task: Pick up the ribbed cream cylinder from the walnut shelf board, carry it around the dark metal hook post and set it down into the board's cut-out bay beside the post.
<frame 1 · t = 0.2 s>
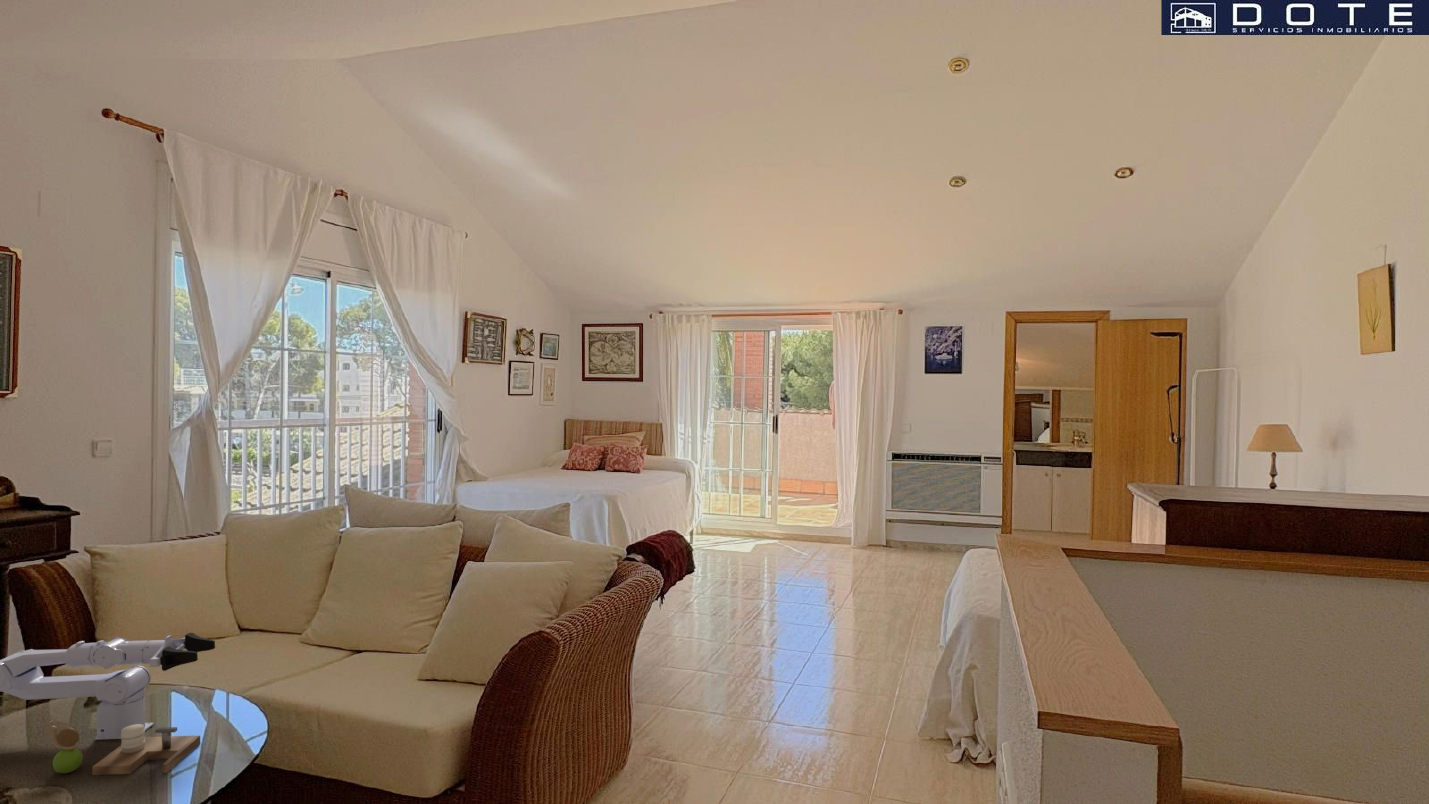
hand: (205, 650, 201), 21 cm above the table, tool horizontal, fingers open, 7 cm apart
ribbed cream cylinder: (133, 748, 189), point 2 cm above the table, touching shelf board
shelf board: (148, 758, 189), on the table
hook post: (166, 756, 190), resting on shelf board
snail figurine: (65, 772, 182), on the table
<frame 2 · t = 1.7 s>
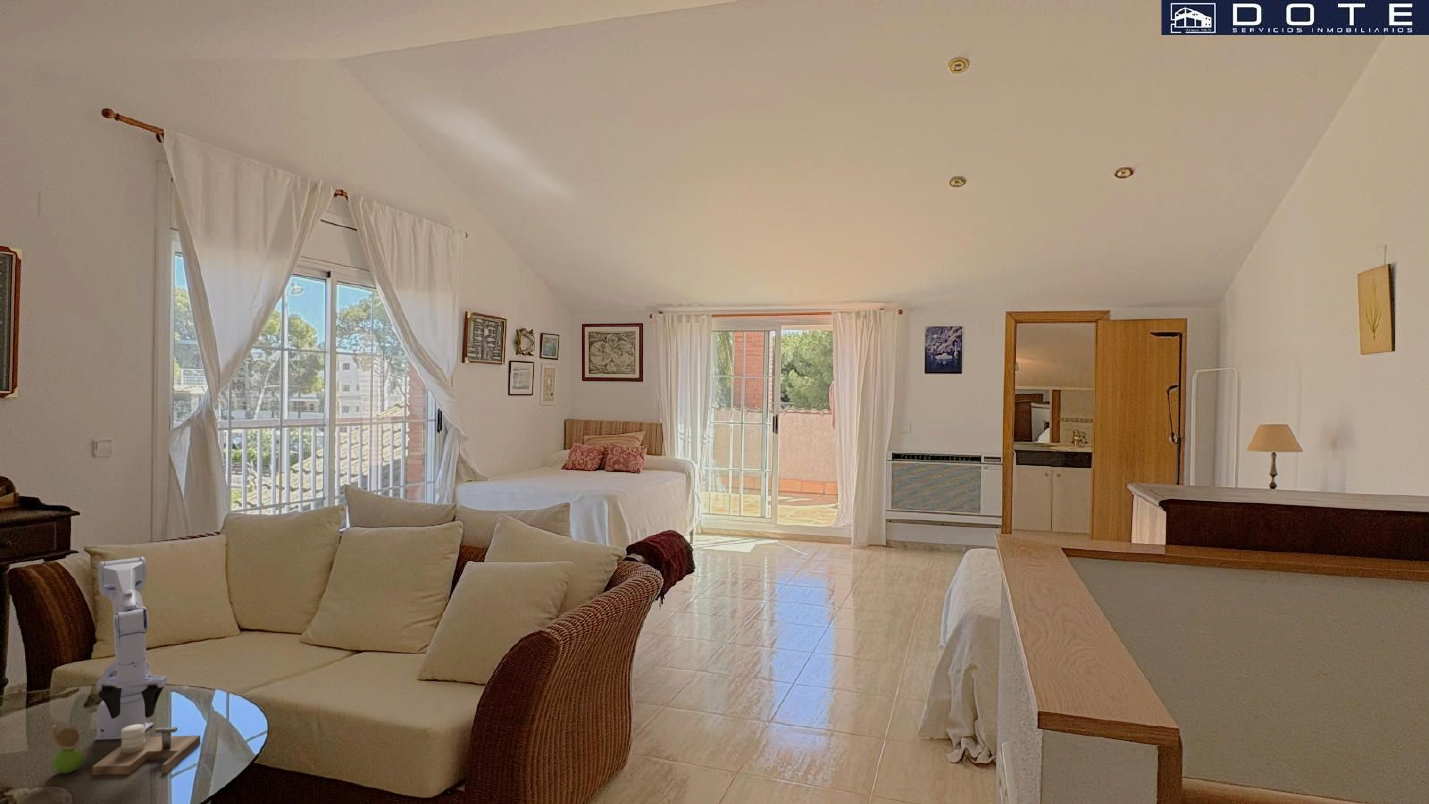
hand: (132, 716, 189), 10 cm above the table, tool pointing down, fingers open, 7 cm apart
nothing on the table moved.
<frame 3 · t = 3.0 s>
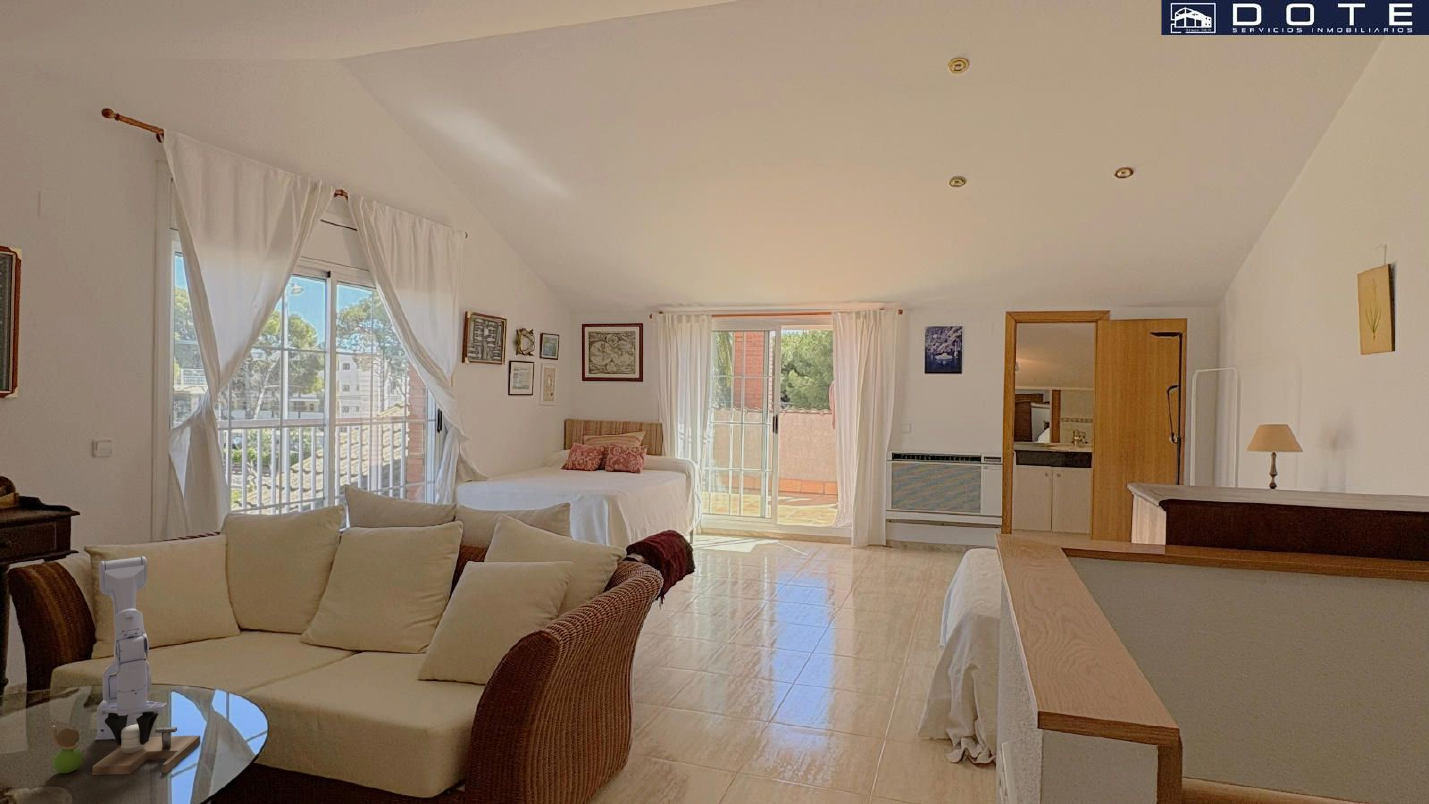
hand: (133, 743, 189), 3 cm above the table, tool pointing down, fingers closed on ribbed cream cylinder, 5 cm apart
ribbed cream cylinder: (133, 748, 189), point 2 cm above the table, touching gripper, shelf board
everything else where it was.
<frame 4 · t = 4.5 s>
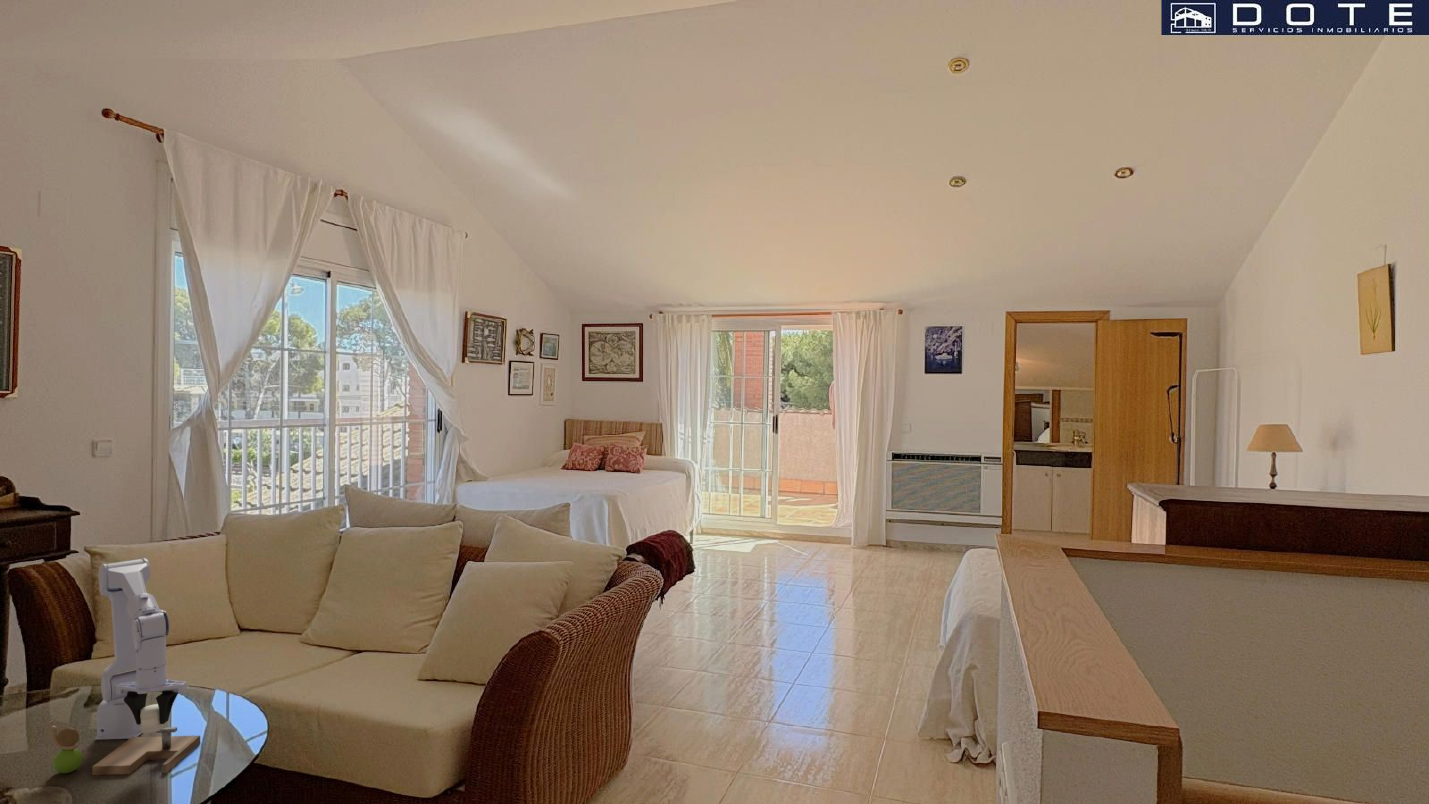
hand: (152, 722, 185), 10 cm above the table, tool pointing down, fingers closed on ribbed cream cylinder, 5 cm apart
ribbed cream cylinder: (152, 729, 185), point 9 cm above the table, touching gripper
everything else where it was.
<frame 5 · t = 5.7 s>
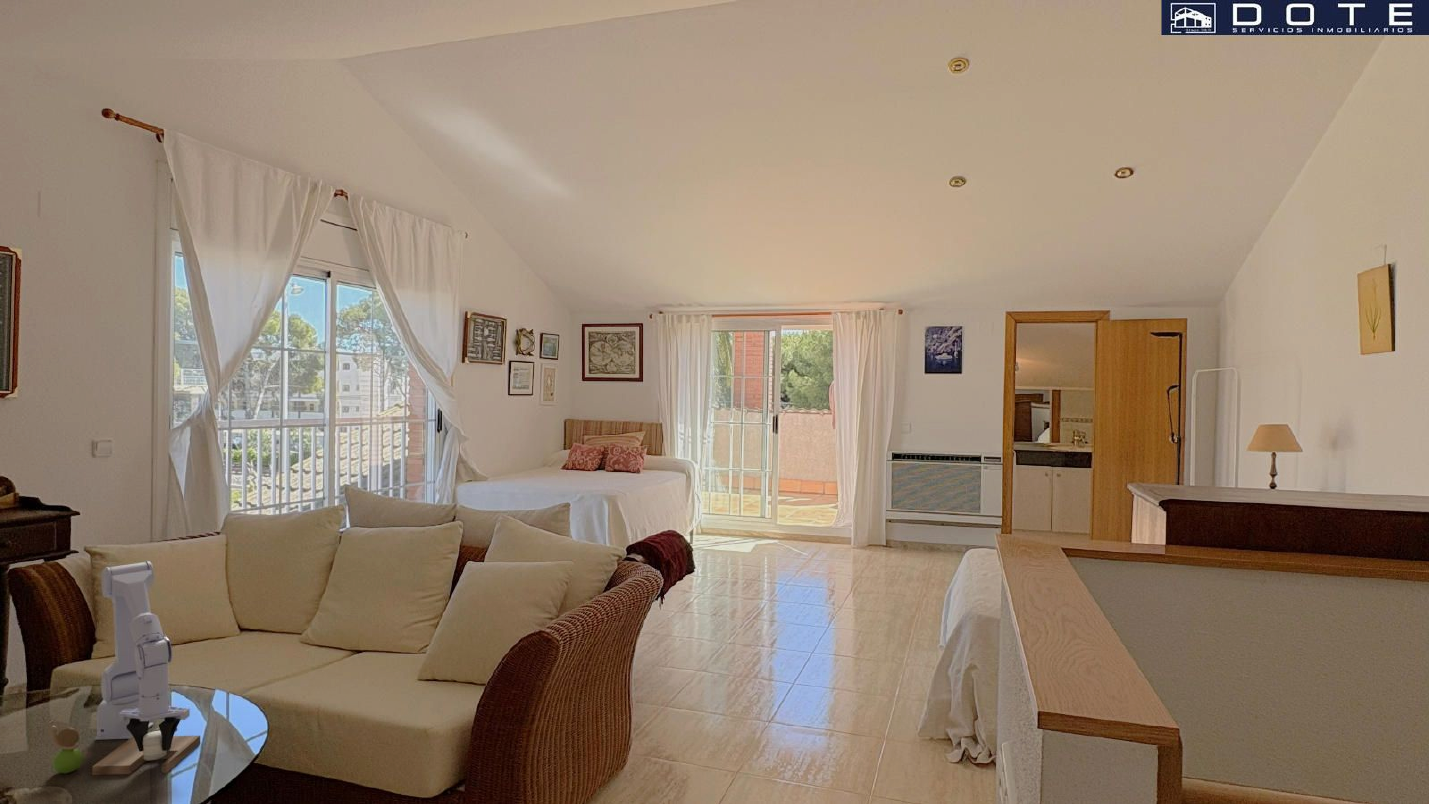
hand: (155, 749, 185), 4 cm above the table, tool pointing down, fingers closed on ribbed cream cylinder, 5 cm apart
ribbed cream cylinder: (155, 755, 185), point 2 cm above the table, touching gripper
everything else where it was.
when the fingers open (3 cm above the table, at t = 6.4 s): ribbed cream cylinder drops 1 cm, on the table.
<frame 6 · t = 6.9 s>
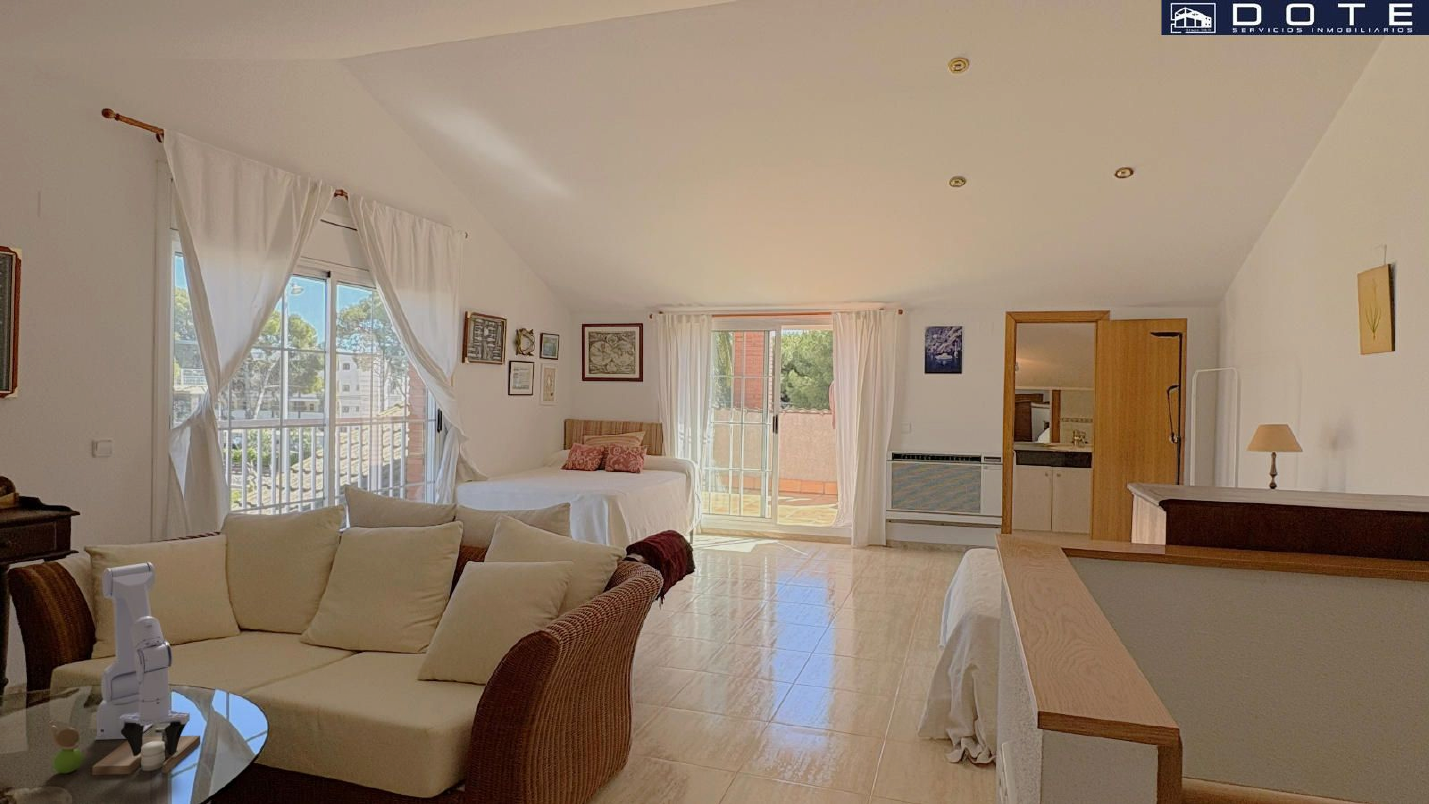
hand: (155, 753, 185), 3 cm above the table, tool pointing down, fingers open, 7 cm apart
ribbed cream cylinder: (153, 766, 186), on the table
everything else where it was.
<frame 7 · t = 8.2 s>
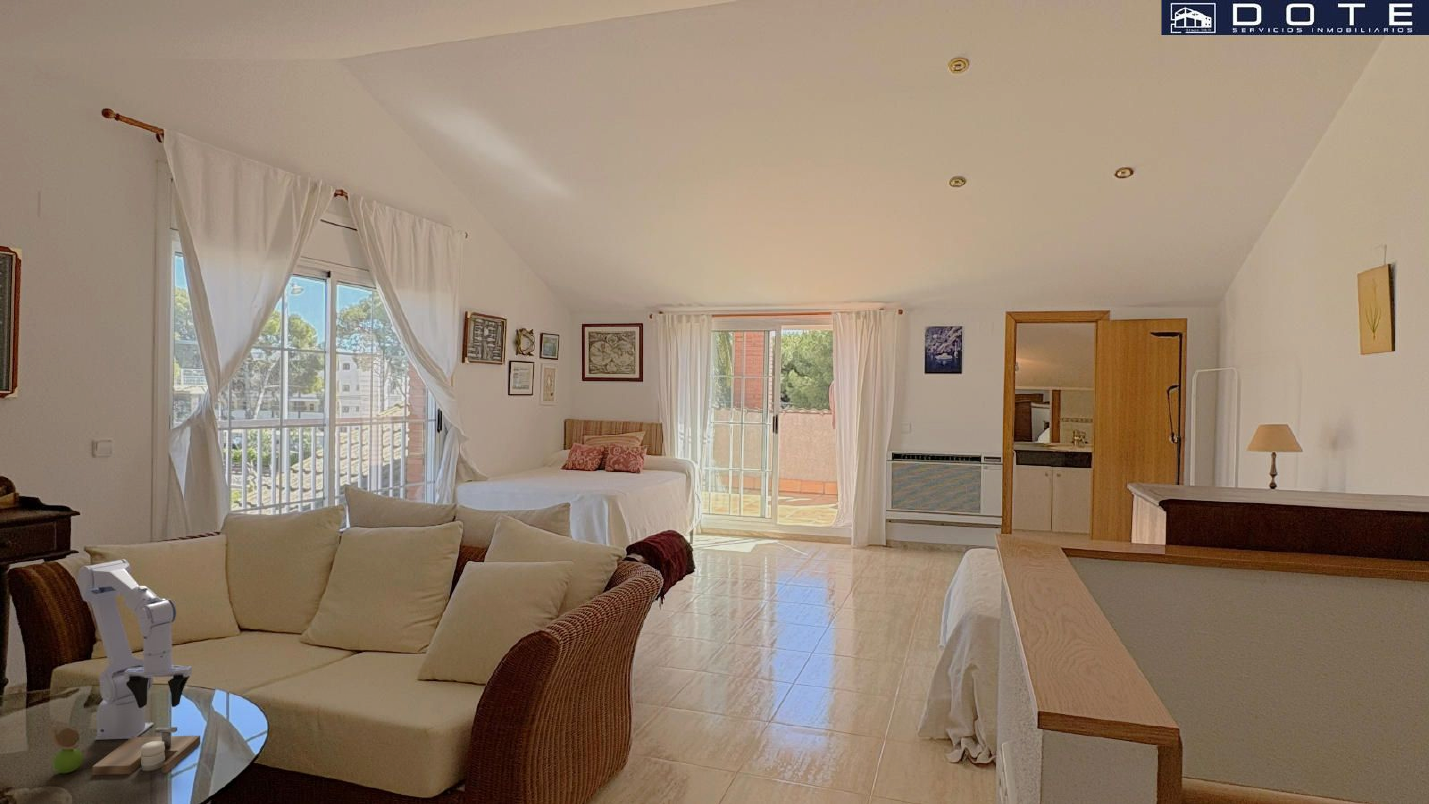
hand: (159, 705, 194), 10 cm above the table, tool pointing down, fingers open, 7 cm apart
nothing on the table moved.
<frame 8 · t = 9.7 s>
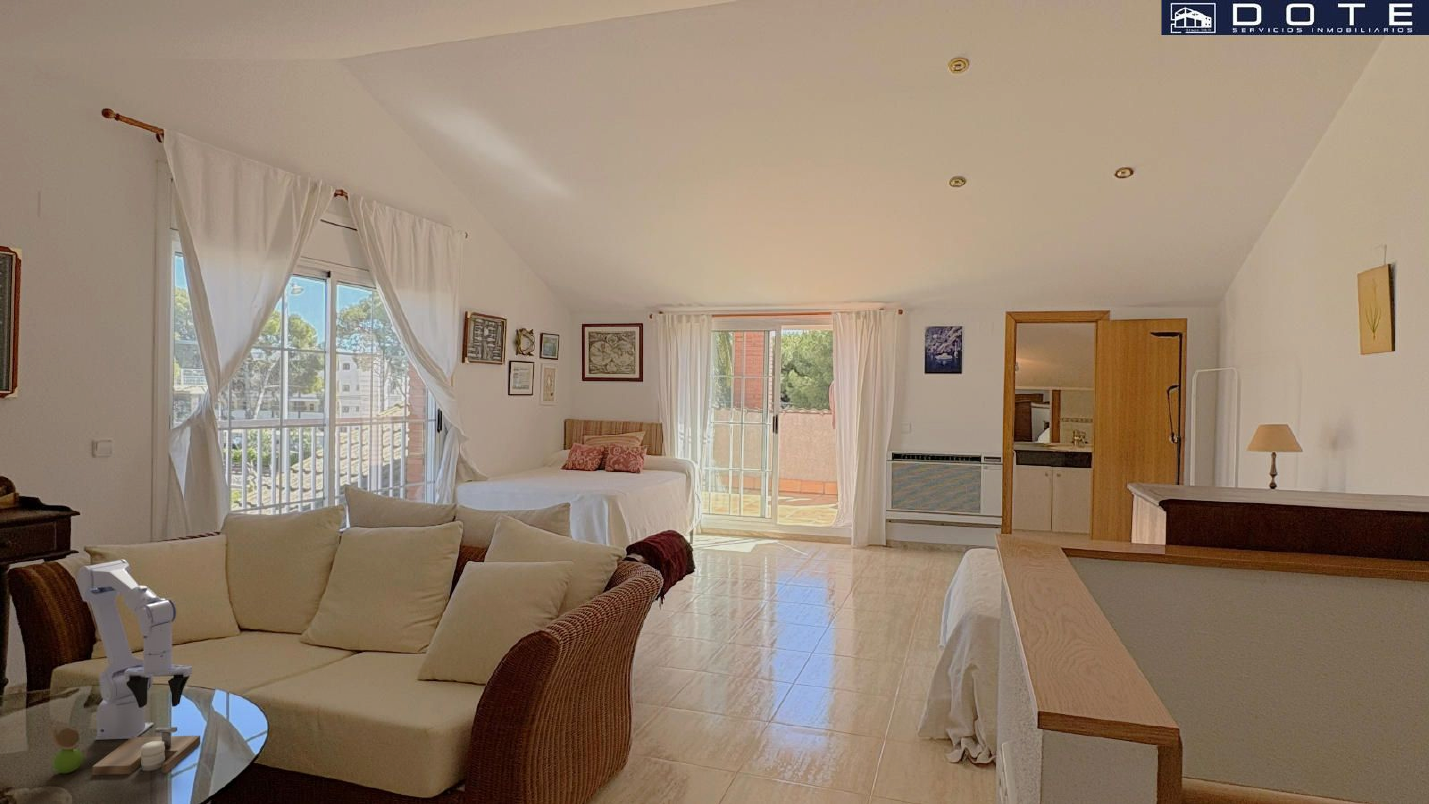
hand: (159, 705, 194), 10 cm above the table, tool pointing down, fingers open, 7 cm apart
nothing on the table moved.
at the end: ribbed cream cylinder inside the target area (0.6 cm from its centre), on the table; ribbed cream cylinder tilted 0°; the gripper is holding nothing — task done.
